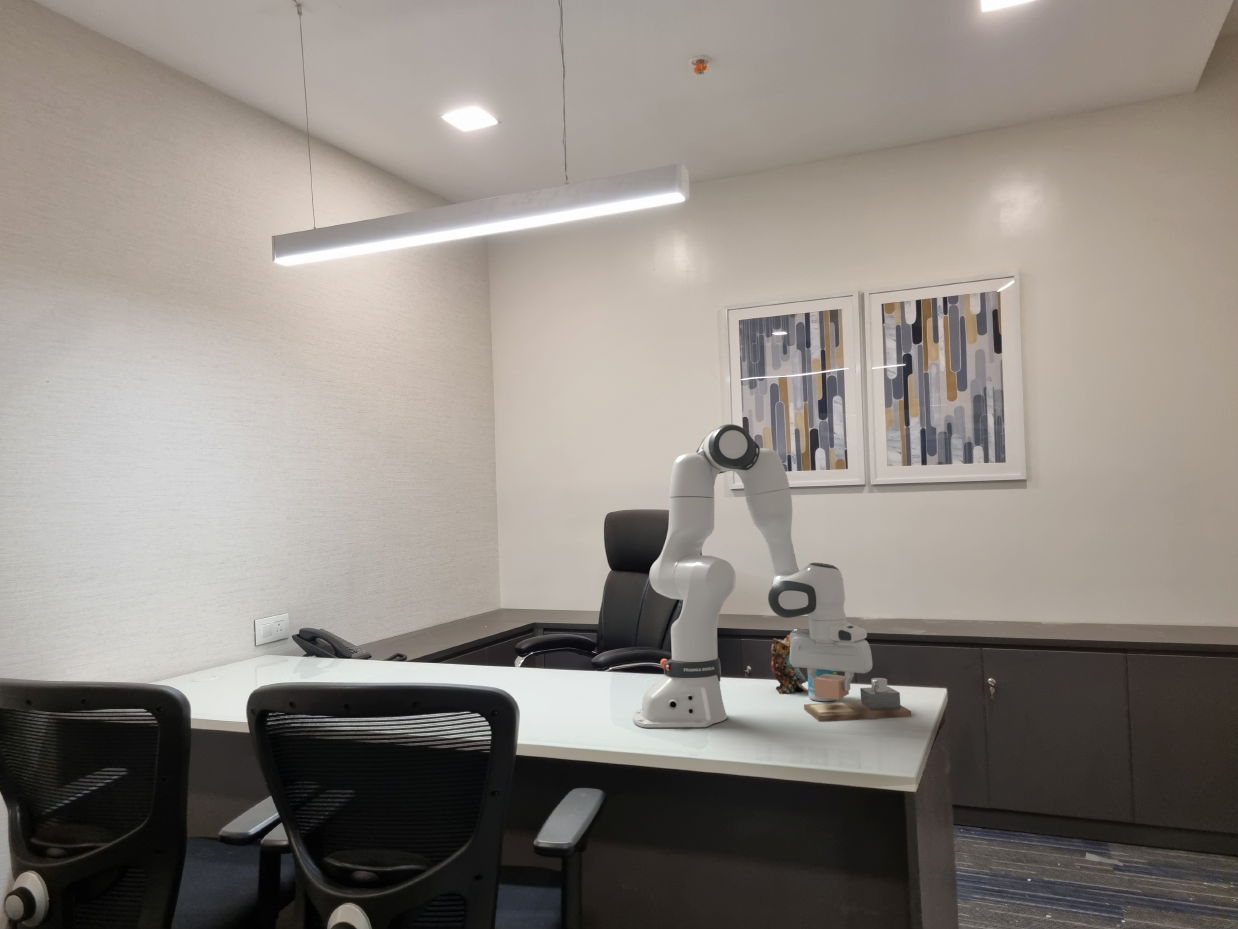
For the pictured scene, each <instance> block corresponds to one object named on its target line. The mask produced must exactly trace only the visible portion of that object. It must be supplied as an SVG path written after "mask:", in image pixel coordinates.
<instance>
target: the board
mask: <svg viewBox="0 0 1238 929" xmlns="http://www.w3.org/2000/svg"><path fill="white" fill-rule="evenodd" d="M900 707H901V709H889V710H870V709H869V708H867V707H865V706H864V705H862V704H861V700H860V701H847V702H844V701H842V702H829V703H825V702H824V703H807V704H803V710H804V711H805V712H806V713H808V714H810V716H812V717H813V718H814V719H815V720H816V721H818V722H828V721H829V722H830V721H848V720H849V721H850V720H863V719H864V720H865V719H868V720H870V719H884V718H902V717H903V718H904V717H906V718H907V717H912V710H910V709H908V708H907V707H905V706H903V705H902V704H900Z"/></svg>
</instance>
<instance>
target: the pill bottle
mask: <svg viewBox="0 0 1238 929" xmlns="http://www.w3.org/2000/svg"><path fill="white" fill-rule="evenodd" d="M815 674H816V676H817V677H819V676H821V675H823V674H832V675H838V671H833V670H822V669H816V672H815ZM807 688H808V689H807V691H808V698H809V699H811V700H812V701H814V702H815V701H816V702H833V701H836V700H837V699H832V698H825V697H817V696H815V687H813V685H812V679H811V678H810V676H809V674H808V673H807Z"/></svg>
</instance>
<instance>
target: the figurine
mask: <svg viewBox="0 0 1238 929" xmlns="http://www.w3.org/2000/svg"><path fill="white" fill-rule="evenodd" d="M790 645H791V643H790V634H787V635H786V637H785V638H784V639H777V638H773V639H772V643H771V646H770V653H771V661H770V669H771V671H772V674H773V676H774V677H775V679H776V681H777V682H778V683H779V685H777V686H776V687H775V690H777V693H779V694H785V695H789V694H790V693H791V694H792V693H807V691H808V689H807V688H806V687H805V686H804V685H803V684H804V683H805V684H806V683H807V679H806V678H805V676H804V674H803V673H802V671H801V670H800V667H793V666H792V665H791V663H790Z"/></svg>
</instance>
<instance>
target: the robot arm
mask: <svg viewBox="0 0 1238 929" xmlns="http://www.w3.org/2000/svg"><path fill="white" fill-rule="evenodd" d="M727 472H734V473H736V474H737V476H738V477H739V478H740V481H741V482H742V485H743V491H744V497H745V502H746V505H747V509H748V512H749V515H750V517H751V519H752V522H753V524H754V525H755V527H757V529H758V530H759V531H760V533H761V535H762V536H763V538H764V541H765V543H766V546H767V550H768V554H769V559H770V563H771V568H772V574H773V575H772V583H771V587H770V589H769V591H768V596H767V597H768V599H767V601H768V602H767V603H768V605H769V607H770V609H771V610H772V612H773V613H774V614H776V615H777V616H779V617H781V618H785V619H793V618H797V617H802V616H805V615H807V616H808V617H807V618H808V628H804V629H803V628H801V629H800V628H794V629H793V630H792V631H791V632H790V633H789V637H790V643H791V645H790V663H791V665H792V666H793V667H798V668H803V669H804V668H805V669H806V670H807V671H806V672H807V675H808V674H809V676H810V678H811V679H812V685H813V687H815V681H814V678H817V676H816V674H815V672H816V669H822V670H833V671H837V672H843V673H844V676H847V678H846V680H845V682H843V683H841V686H842V688H841V689H842V690H844V691H850V690H851V682H852V680H853V679H854V677H855V673H856V674H867V673H869V672H870V671H871V670H872V669H873V657H872V650H871V646H870V644H869V642H868V641H867V640H866V638H867V636H868V632H867V630H866V629H865V628H863V627H860V626H857V625H854V624H852V623H850V622H848V621H847V615H846V612H845V603H846V601H845V600H846V596H845V587H844V586H845V585H844V579H843V575H842V573H841V570H840V569H839V568H838V567H836V566H835V565H832V564H830V563H829V564H828V563H822V562H811V563H808V564H807V566H805V567H804V568H802V569H801V570H799V566H798V564H797V559H796V556H795V555H796V554H795V551H794V544H793V539H792V523H793V501H792V500H793V499H792V498H793V497H792V492H791V489H790V483H789V479H788V475H787V473H786V469H785V466H784V464H783V461H782V458H781V457H780V455H779V453H778V452H777V451H776V450H774V449H771V448H768V447H761V448H760V445H759V444H758V443H757V442H756V441H755V440H754V439H753V437H752V436H751V434H750V433H749V432H748V431H747V430H746V429H745V428H744V427H741V426H740V425H737V424H730V423H729V424H728V423H727V424H724V425H721V426H718V427H717V428H714V429H713V430H711V431H710V432H709V433H708V434H707V435H706V436H705V437H704V438H703V439H702V440H701V443H700V445H699V446H698V448H697V450H696V452H687V453H684V454H681V455H679V456H678V457H677V458H676V459H675V460H674V462H673V464H672V469H671V474H670V475H671V476H670V481H669V496H668V497H669V499H668V500H669V501H668V502H669V503H668V505H669V506H668V529H667V533H666V539H665V542H664V544H663V547H662V550H661V552H660V554H659V556H658V557H657V559H656V560H655V561H654V562H653V563H652V565H651V567H650V570H649V576H648V578H649V583H650V585H651V588H652V589H653V590H654V591H655V592H656V594H657V593H658V594H659V595H661V596H664V597H665V598H668V599H671V600H679V601H681V600H682V606H681V611H680V614H679V616H678V618H677V619H676V620H675V621H674V622H673V623H672V624H671V627H670V640H671V641H670V642H671V644H670V645H671V658H670V659H666V658H662V659H661V660H660V666H661V667H662V668H663V674H664V675H662V677H660V678H659V679H658V680H657V681H656V682H654V683H653V684H652V685H651V686H650V687H648V689H646V691H645V692H644V694H643V697H642V703H641V710H639V709H638V710H637V711H635V712H634V713H633V715H632V720H633V723H634V724H635V725H636V726H638V727H641V728H707V727H709V726H711V725H713V724H717V723H720V722H723V721H725V720H726V719H727V718H728V715H727V712H726V709H725V705H724V702H723V696H722V690H721V683H720V682H721V677H722V671H721V661H720V658H719V657H718V656H719V655H718V624H719V623H718V622H719V617H720V613H721V611H722V608H723V605H724V603H725V602H726V601H727V599H728V598H729V597H731V595H732V594H733V592H734V590H735V588H736V584H737V577H736V575H737V574H736V572H735V569H734V567H733V565H732V564H731V562H729V561H727V560H724V559H723V558H720V557H717V556H715V555H714V556H713V555H701V554H702V553H701V552H702V550H703V546H704V544H705V541H706V540H707V539H708V537H709V536H711V535H712V533H713V532H714V530H715V482H716V478H718V477H717V476H718V475H720V474H724V473H727Z"/></svg>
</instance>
